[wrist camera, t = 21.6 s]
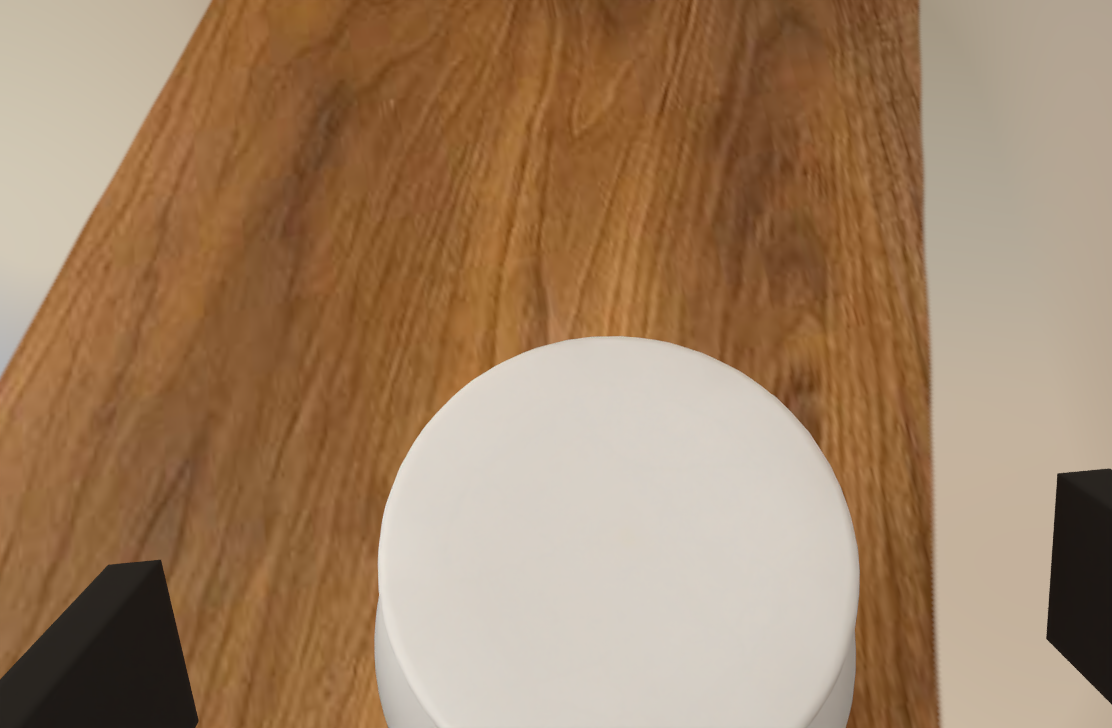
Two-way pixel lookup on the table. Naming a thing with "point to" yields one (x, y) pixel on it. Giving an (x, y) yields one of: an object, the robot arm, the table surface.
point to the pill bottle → (616, 552)
